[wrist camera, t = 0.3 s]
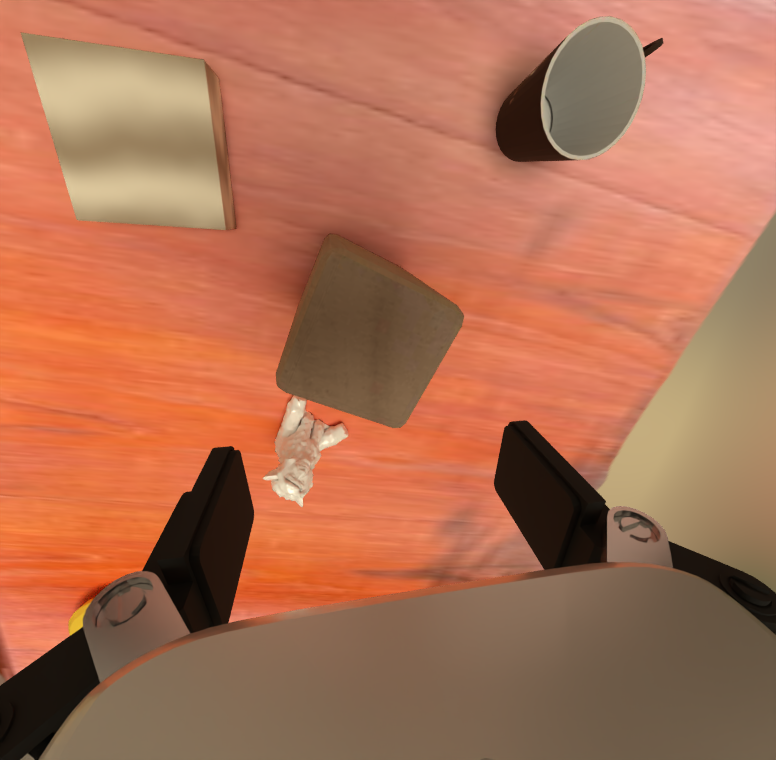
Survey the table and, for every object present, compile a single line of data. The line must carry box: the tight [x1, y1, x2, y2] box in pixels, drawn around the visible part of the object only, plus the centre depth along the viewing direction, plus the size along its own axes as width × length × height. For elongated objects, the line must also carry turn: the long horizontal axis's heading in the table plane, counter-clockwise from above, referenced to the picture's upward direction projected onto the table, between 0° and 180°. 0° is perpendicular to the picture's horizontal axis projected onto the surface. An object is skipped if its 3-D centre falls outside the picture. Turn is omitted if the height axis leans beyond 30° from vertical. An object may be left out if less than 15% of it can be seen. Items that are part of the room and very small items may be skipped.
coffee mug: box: [496, 17, 663, 162], centre depth 30 cm, size 12×9×10 cm
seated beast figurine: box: [263, 395, 349, 507], centre depth 41 cm, size 10×9×12 cm
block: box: [276, 234, 464, 428], centre depth 30 cm, size 10×10×20 cm
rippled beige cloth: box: [21, 33, 236, 230], centre depth 29 cm, size 12×12×4 cm
